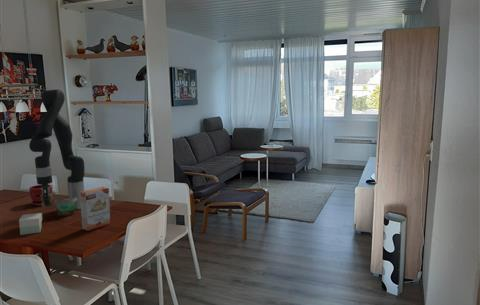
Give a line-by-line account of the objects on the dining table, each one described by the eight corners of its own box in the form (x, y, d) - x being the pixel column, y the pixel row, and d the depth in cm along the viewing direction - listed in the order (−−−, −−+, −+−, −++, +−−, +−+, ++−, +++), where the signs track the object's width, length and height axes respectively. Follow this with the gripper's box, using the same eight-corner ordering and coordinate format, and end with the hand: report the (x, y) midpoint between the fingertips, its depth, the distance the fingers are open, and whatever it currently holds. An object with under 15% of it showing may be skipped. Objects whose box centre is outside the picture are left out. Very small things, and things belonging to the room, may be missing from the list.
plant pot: (57, 202, 239) (56, 185, 238) (37, 208, 228) (35, 189, 227) (46, 199, 246) (45, 182, 244) (26, 204, 235) (25, 186, 233)
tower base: (41, 227, 197) (41, 220, 196) (40, 232, 189) (39, 225, 188) (22, 229, 193) (22, 222, 193) (20, 235, 185) (19, 228, 184)
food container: (55, 218, 210) (54, 201, 208) (55, 215, 215) (54, 199, 213) (78, 215, 215) (77, 199, 214) (77, 212, 221) (76, 196, 219)
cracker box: (88, 231, 190) (85, 193, 186) (81, 229, 193) (79, 191, 190) (111, 224, 201) (109, 187, 198) (104, 221, 205) (102, 186, 201)
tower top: (42, 219, 196) (41, 212, 196) (39, 225, 188) (38, 218, 187) (23, 221, 193) (22, 214, 193) (19, 227, 185) (18, 220, 184)
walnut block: (52, 203, 206) (51, 193, 205) (52, 205, 201) (51, 195, 200) (42, 204, 204) (41, 194, 202) (42, 207, 199) (40, 196, 198)
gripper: (51, 176, 194) (54, 206, 198) (51, 171, 207) (54, 199, 210) (35, 178, 191) (39, 209, 194) (36, 172, 204) (40, 201, 207)
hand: (47, 204), depth 202 cm, fingers closed on walnut block, 5 cm apart
